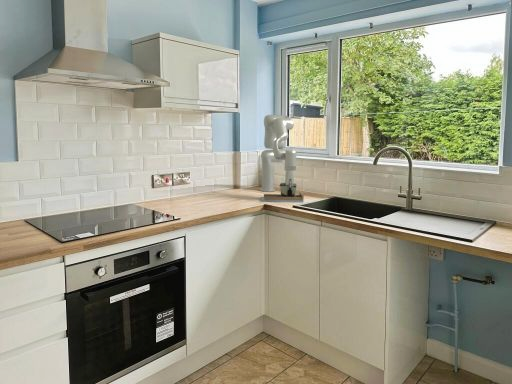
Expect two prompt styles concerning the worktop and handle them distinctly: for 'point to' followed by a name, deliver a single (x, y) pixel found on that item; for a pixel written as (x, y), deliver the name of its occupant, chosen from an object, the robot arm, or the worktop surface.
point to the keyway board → (282, 198)
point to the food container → (285, 188)
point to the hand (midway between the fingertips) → (289, 194)
